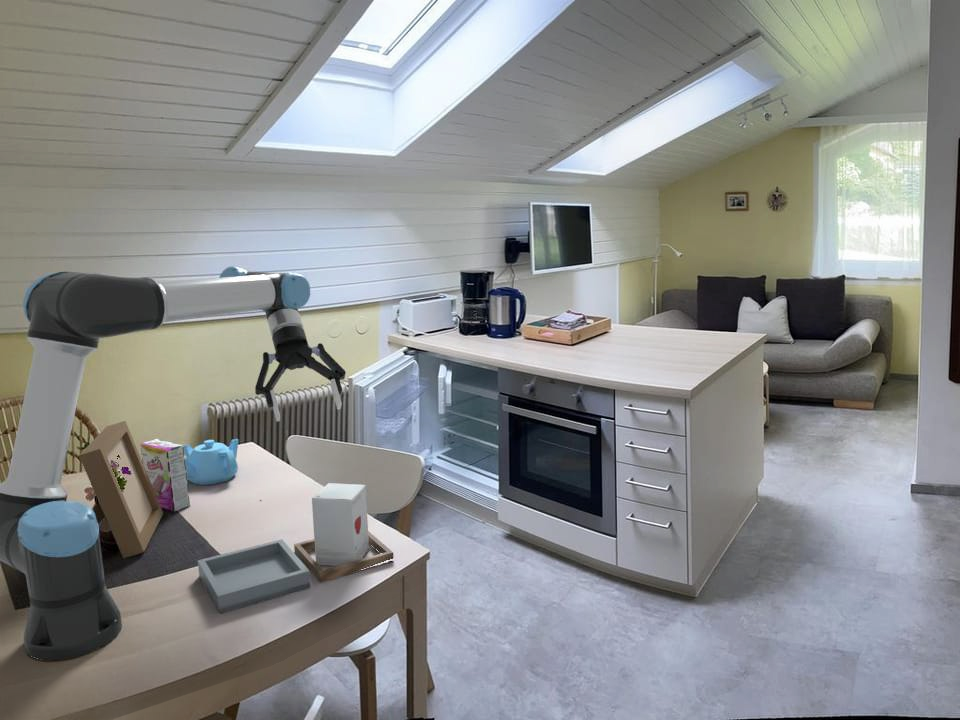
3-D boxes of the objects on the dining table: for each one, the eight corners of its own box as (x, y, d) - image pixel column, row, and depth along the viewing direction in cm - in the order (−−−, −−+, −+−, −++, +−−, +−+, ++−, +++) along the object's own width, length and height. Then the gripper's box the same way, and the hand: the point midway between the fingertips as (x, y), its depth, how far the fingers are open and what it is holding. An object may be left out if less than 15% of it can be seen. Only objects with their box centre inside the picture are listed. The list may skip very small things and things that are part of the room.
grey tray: (219, 613, 140) (217, 596, 139) (199, 576, 154) (197, 560, 153) (310, 587, 148) (309, 570, 148) (283, 554, 163) (282, 539, 162)
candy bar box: (146, 504, 193) (138, 443, 190) (163, 498, 197) (156, 437, 194) (173, 513, 187) (166, 449, 184) (191, 506, 191) (184, 444, 188)
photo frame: (163, 516, 185) (150, 418, 180) (144, 556, 164) (128, 445, 159) (98, 524, 182) (83, 424, 177) (70, 565, 161) (52, 453, 156)
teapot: (179, 490, 202) (175, 452, 200) (185, 472, 217) (181, 436, 214) (239, 484, 206) (235, 446, 204) (241, 466, 220) (237, 430, 218)
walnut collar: (320, 582, 150) (319, 573, 150) (294, 552, 164) (294, 544, 163) (393, 561, 158) (393, 552, 158) (363, 534, 172) (362, 526, 171)
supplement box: (355, 568, 156) (351, 500, 153) (315, 565, 158) (309, 497, 155) (370, 549, 164) (366, 483, 161) (331, 546, 166) (327, 482, 163)
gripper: (338, 333, 184) (362, 409, 175) (232, 350, 175) (251, 431, 166) (341, 316, 178) (366, 393, 169) (232, 332, 168) (251, 415, 159)
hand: (309, 412), depth 167 cm, fingers open, 13 cm apart
